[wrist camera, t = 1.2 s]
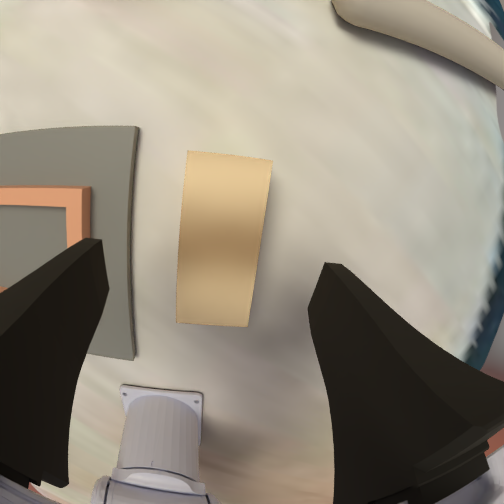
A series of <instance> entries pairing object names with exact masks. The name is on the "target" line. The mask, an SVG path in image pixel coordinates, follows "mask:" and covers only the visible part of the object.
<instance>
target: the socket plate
mask: <svg viewBox="0 0 504 504" xmlns="http://www.w3.org/2000/svg"><path fill="white" fill-rule="evenodd" d="M138 131H139V127H136V126H82V127H63V128H49V129H38V130H29V131H21V132H13V133H6V134H0V293H1V292H3V291H4V290H6V289H8V288H9V287H11V286H12V285H14V284H15V283H17V282H18V281H20V280H21V279H23V278H24V277H26V276H27V275H29V274H30V273H32V272H33V271H35V270H36V269H38V268H39V267H41V266H42V265H44V264H45V263H46V262H48V261H49V260H51V259H52V258H54V257H55V256H57V255H58V254H60V253H61V252H63V251H64V250H66V249H67V248H69V247H70V246H72V245H74V244H75V243H77V242H79V241H80V240H82V239H84V238H94V239H102V243H103V250H104V258H105V264H106V271H107V277H108V283H109V288H110V290H109V293H108V297H107V300H106V304H105V307H104V310H103V314H102V316H101V319H100V321H99V324H98V326H97V329H96V331H95V334H94V336H93V339H92V341H91V344H90V346H89V349H88V351H87V354H92V355H98V356H103V357H110V358H116V359H123V360H130V361H134V358H135V355H136V352H135V342H134V331H133V317H132V300H131V271H130V236H131V207H132V190H133V177H134V165H135V155H136V146H137V138H138Z"/></svg>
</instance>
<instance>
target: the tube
mask: <svg viewBox="0 0 504 504" xmlns="http://www.w3.org/2000/svg"><path fill="white" fill-rule="evenodd" d="M331 1H332V3H333V5H334V8H335V10H336V12H337V14H338V15H339V16H341V17H342V18H343V19H344V20H345V21H346V22H348V23H351V24H353V25H355V26H358V27H362V28H366V29H369V30H373V31H376V32H380V33H383V34H386V35H389V36H392V37H395V38H398V39H401V40H404V41H407V42H409V43H412V44H415V45H417V46H420V47H422V48H425V49H427V50H430V51H432V52H434V53H437V54H439V55H441V56H443V57H445V58H447V59H450V60H452V61H454V62H456V63H458V64H460V65H462V66H464V67H466V68H467V69H469V70H471V71H473V72H475V73H477V74H478V75H480V76H482V77H484V78H485V79H487V80H489V81H490V82H492V83H494V84H495V85H497V86H498V87H500V88H502V89H503V90H504V49H503V48H501V47H500V46H499V45H497V44H496V43H495V42H494V41H492V40H491V39H489V38H488V37H487V36H485V35H484V34H482V33H481V32H479V31H478V30H476V29H475V28H473V27H472V26H470V25H469V24H467V23H466V22H464V21H462V20H461V19H459V18H457V17H456V16H454V15H452V14H451V13H449V12H447V11H445V10H444V9H442V8H440V7H438V6H436V5H434V4H432V3H430V2H428V1H426V0H331Z"/></svg>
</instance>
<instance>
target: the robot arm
mask: <svg viewBox="0 0 504 504" xmlns="http://www.w3.org/2000/svg"><path fill="white" fill-rule="evenodd" d="M109 290H110V288H109V283H108V277H107V271H106V264H105V258H104V250H103V243H102V239H94V238H84V239H82V240H80V241H79V242H77V243H75V244H74V245H72V246H70V247H69V248H67V249H66V250H64V251H63V252H61V253H60V254H58V255H57V256H55V257H54V258H52V259H51V260H49V261H48V262H46V263H45V264H44V265H42V266H41V267H39V268H38V269H36V270H35V271H33V272H32V273H30V274H29V275H27V276H26V277H24V278H23V279H21V280H20V281H18V282H17V283H15V284H14V285H12V286H11V287H9V288H8V289H6V290H4V291H3V292H1V293H0V504H60V503H58V502H56V501H53V500H51V499H48V498H46V497H44V496H41V495H39V494H37V493H35V492H33V491H31V490H29V489H28V486H29V482H31V483H33V484H35V485H37V486H40V485H41V480H42V481H44V482H47V483H49V484H51V485H54V486H56V487H59V488H63V487H65V486H67V485H68V484H69V478H68V442H69V428H70V420H71V412H72V405H73V400H74V395H75V390H76V385H77V380H78V377H79V374H80V370H81V367H82V364H83V362H84V359H85V356H86V354H87V351H88V349H89V346H90V344H91V341H92V339H93V336H94V334H95V331H96V329H97V326H98V324H99V321H100V319H101V316H102V314H103V310H104V307H105V304H106V300H107V297H108V293H109ZM308 315H309V323H310V329H311V335H312V339H313V343H314V346H315V350H316V354H317V357H318V361H319V364H320V368H321V372H322V375H323V379H324V383H325V386H326V390H327V395H328V400H329V406H330V414H331V421H332V431H333V443H334V468H335V475H334V499H333V504H504V445H503V446H502V447H500V448H499V449H497V450H496V451H494V452H493V453H491V454H490V455H489V456H487V457H486V456H485V454H484V452H485V451H486V450H488V449H489V444H488V442H487V440H488V439H489V438H490V437H492V436H493V435H494V434H496V433H497V432H498V431H500V430H501V429H502V428H504V382H503V381H500V380H498V379H495V378H493V377H491V376H489V375H486V374H484V373H483V372H481V371H479V370H477V369H475V368H473V367H471V366H469V365H468V364H466V363H464V362H462V361H461V360H459V359H458V358H456V357H454V356H453V355H451V354H450V353H448V352H447V351H445V350H443V349H442V348H441V347H439V346H438V345H436V344H435V343H433V342H432V341H431V340H429V339H428V338H427V337H425V336H424V335H423V334H421V333H420V332H419V331H417V330H416V329H415V328H414V327H412V326H411V325H410V324H409V323H408V322H407V321H405V320H404V319H403V318H402V317H401V316H400V315H398V314H397V313H396V312H395V311H394V310H393V309H392V308H390V307H389V306H388V305H387V304H386V303H385V302H384V301H383V300H382V299H381V298H379V297H378V296H377V295H376V294H375V293H374V292H373V291H372V290H371V289H370V288H369V287H368V286H366V285H365V284H364V283H363V282H362V281H361V280H360V279H359V278H358V277H357V276H355V275H354V274H353V273H352V272H351V271H350V270H348V269H347V268H346V267H345V266H343V265H342V264H336V263H326V262H325V263H324V266H323V269H322V271H321V274H320V277H319V280H318V282H317V285H316V288H315V290H314V293H313V296H312V298H311V301H310V303H309V306H308ZM120 394H121V399H122V403H123V407H124V411H125V415H126V420H125V425H124V430H123V435H122V440H121V445H120V451H119V457H118V462H117V468H113V471H112V477H109V476H105V475H104V476H102V478H100V479H98V480H97V481H96V482H95V485H94V488H93V492H92V497H91V504H221V502H220V501H219V500H218V499H217V498H216V497H215V496H214V495H213V494H211V493H206V491H205V483H200V476H199V454H198V446H199V445H200V444H201V418H202V395H201V394H200V393H196V392H181V391H169V390H159V389H150V388H142V387H134V386H127V385H121V386H120ZM196 400H198V401H196Z"/></svg>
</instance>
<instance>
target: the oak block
mask: <svg viewBox="0 0 504 504" xmlns="http://www.w3.org/2000/svg"><path fill="white" fill-rule="evenodd" d="M272 163H273V161H271V160H265V159H258V158H251V157H243V156H235V155H227V154H218V153H209V152H198V151H188V153H187V161H186V170H185V179H184V188H183V198H182V209H181V221H180V235H179V250H178V268H177V292H176V322H177V323H189V324H202V325H218V326H238V327H248V321H249V314H250V308H251V301H252V295H253V289H254V282H255V276H256V269H257V263H258V256H259V250H260V243H261V237H262V230H263V223H264V217H265V210H266V204H267V197H268V190H269V183H270V177H271V170H272Z"/></svg>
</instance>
